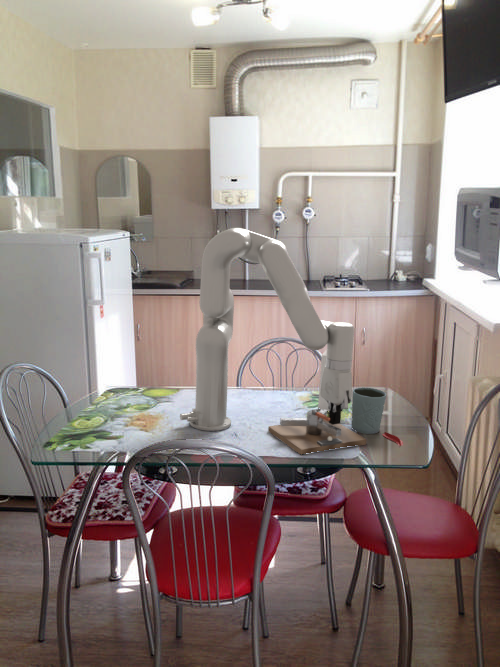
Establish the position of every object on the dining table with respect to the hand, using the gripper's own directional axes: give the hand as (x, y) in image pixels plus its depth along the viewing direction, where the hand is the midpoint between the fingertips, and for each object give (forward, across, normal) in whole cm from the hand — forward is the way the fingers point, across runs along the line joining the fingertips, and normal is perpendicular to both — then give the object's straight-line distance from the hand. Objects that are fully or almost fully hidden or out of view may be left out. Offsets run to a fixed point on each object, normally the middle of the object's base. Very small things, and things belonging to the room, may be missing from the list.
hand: (334, 423), depth 179 cm
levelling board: (+3, +1, -7) cm, 8 cm away
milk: (+3, -19, +12) cm, 23 cm away
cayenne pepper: (+4, +11, +14) cm, 18 cm away
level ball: (+1, +10, -8) cm, 13 cm away
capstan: (+1, 0, -6) cm, 7 cm away
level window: (+2, +10, -8) cm, 13 cm away
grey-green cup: (+4, +1, +12) cm, 12 cm away
